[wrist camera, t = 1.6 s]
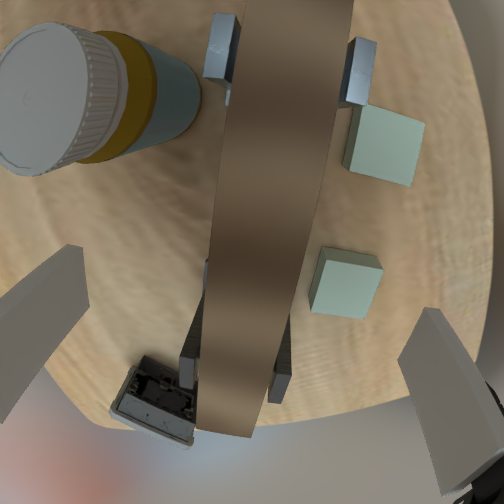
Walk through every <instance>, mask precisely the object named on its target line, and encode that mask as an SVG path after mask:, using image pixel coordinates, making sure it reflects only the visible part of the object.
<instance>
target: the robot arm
mask: <svg viewBox="0 0 504 504" xmlns="http://www.w3.org/2000/svg"><path fill="white" fill-rule="evenodd" d="M89 307H90V305H89V299H88V291H87V284H86V276H85V267H84V256H83V247H78V246H74V245H69V244H67V245H66V246H64V247H63V248H62V249H60V250H59V251H58V252H56V253H55V254H54V255H52V256H51V257H50V258H48V259H47V260H46V261H45V262H43V263H42V264H41V265H40V266H38V267H37V268H36V269H35V270H33V271H32V272H31V273H30V274H28V275H27V276H26V277H25V278H23V279H22V280H21V281H20V282H19V283H17V284H16V285H15V286H14V287H13V288H12V289H10V290H9V291H8V292H7V293H6V294H5V295H4V296H2V297H1V298H0V423H1V424H3V422H4V420H5V419H6V417H7V416H8V414H9V413H10V411H11V410H12V408H13V407H14V406H15V404H16V403H17V401H18V400H19V398H20V397H21V395H22V394H23V393H24V391H25V390H26V388H27V387H28V386H29V384H30V383H31V381H32V380H33V379H34V377H35V376H36V374H37V373H38V372H39V370H40V369H41V368H42V366H43V365H44V364H45V362H46V361H47V360H48V358H49V357H50V356H51V354H52V353H53V352H54V351H55V349H56V348H57V347H58V345H59V344H60V343H61V342H62V340H63V339H64V338H65V337H66V335H67V334H68V333H69V332H70V330H71V329H72V328H73V327H74V325H75V324H76V323H77V322H78V321H79V319H80V318H81V317H82V316H83V314H84V313H85V312H86V311H87V310H88V308H89ZM398 363H399V366H400V368H401V371H402V373H403V376H404V379H405V381H406V384H407V387H408V389H409V392H410V395H411V398H412V401H413V403H414V406H415V409H416V412H417V415H418V418H419V421H420V424H421V427H422V430H423V433H424V436H425V440H426V443H427V446H428V449H429V452H430V456H431V459H432V463H433V467H434V470H435V474H436V478H437V481H438V485H439V488H440V493H441V497H442V496H446V495H449V494H453V493H457V492H459V491H461V490H462V489H464V488H465V487H466V486H467V485H469V484H470V483H471V484H472V488H473V489H471V490H470V491H469V492H467V493H466V494H464V495H463V496H462V497H460V498H459V499H457V500H456V501H455V502H454V503H453V504H459V503H460V502H462V501H463V500H464V502H463V504H504V408H503V406H502V404H500V400H499V398H498V396H497V395H496V393H495V391H494V390H493V389H492V388H491V387H490V386H489V384H488V383H487V382H486V381H484V379H483V377H482V376H481V374H480V372H479V371H478V369H477V367H476V365H475V364H474V362H473V360H472V359H471V357H470V355H469V354H468V352H467V350H466V349H465V347H464V346H463V344H462V342H461V341H460V339H459V338H458V336H457V335H456V333H455V332H454V330H453V328H452V327H451V325H450V324H449V322H448V321H447V319H446V318H445V316H444V315H443V313H442V312H441V311H440V309H436V308H428V307H424V309H423V312H422V314H421V316H420V318H419V320H418V322H417V324H416V326H415V328H414V330H413V332H412V334H411V336H410V338H409V340H408V341H407V343H406V345H405V347H404V349H403V351H402V353H401V354H400V356H399V358H398Z"/></svg>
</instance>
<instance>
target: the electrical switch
mask: <svg viewBox="0 0 504 504" xmlns="http://www.w3.org/2000/svg"><path fill="white" fill-rule="evenodd" d="M161 368H162V369H161ZM142 370H143V371H142ZM162 372H163V375H162V376H161V374H162ZM160 376H161V377H160ZM159 377H160V378H159ZM165 377H170V378H171V383H170V384H168V383H167V382H165V381H163V380H164V379H165ZM176 379H177V380H176ZM175 380H176V381H175ZM174 381H175V384H174ZM174 385H175V386H174ZM197 396H198V381H196V380H195V383H194V387H193V389H188V388H184V387H180V384H179V373H178V372H176V371H174V370H172V369H170V368H168V367H166V366H164V365H162V364H160V363H158V362H156V361H154V360H152V359H150V358H148V357H146V356H144V357H143V358H142V359H141V361H140V363H139V364H138V367H137V368H136V367H130V369H129V371H128V375H127V377H126V379H125V381H124V383H123V385H122V387H121V389H120V391H119V393H118V395H117V397H116V399H115V401H114V400H113V402H112V404H111V406H110V410H109V413H110V415H111V417H112V418H114V419H116V420H118V421H120V422H122V423H124V424H126V425H128V426H130V427H132V428H134V429H136V430H138V431H141V432H143V433H145V434H147V435H149V436H152V437H154V438H156V439H159V440H161V441H163V442H166V443H168V444H171V445H173V446H176V447H178V448H181V449H184V450H188V449H190V447H191V446H192V445H193V443H194V437H193V431H194V428H195V426H196V415H197Z"/></svg>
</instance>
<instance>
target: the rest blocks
mask: <svg viewBox="0 0 504 504" xmlns="http://www.w3.org/2000/svg"><path fill="white" fill-rule="evenodd" d="M424 129H425V123H423V122H420V121H417V120H415V119H412V118H409V117H406V116H403V115H400V114H397V113H394V112H391V111H388V110H385V109H382V108H379V107H375V106H372V105H369V104H367V106H362V107H354V110H353V116H352V121H351V126H350V131H349V136H348V141H347V145H346V150H345V155H344V159H343V164H342V165H343V166H344V167H345V168H346V169H347V170H349V171H351V172H356V173H360V174H364V175H368V176H372V177H375V178H379V179H383V180H387V181H390V182H394V183H398V184H401V185H405V186H408V187H411V184H412V180H413V176H414V172H415V168H416V164H417V160H418V156H419V152H420V147H421V143H422V138H423V134H424ZM383 272H384V269H383V267H382V266H381V264H380V262H379V261H378V259H377V257H376V256H371V255H366V254H360V253H355V252H350V251H344V250H339V249H334V248H328V247H323V246H322V250H321V253H320V257H319V261H318V264H317V268H316V271H315V275H314V278H313V282H312V285H311V289H310V292H309V296H308V297H309V304H310V311H311V312H314V313H321V314H328V315H335V316H343V317H350V318H358V319H365V317H366V315H367V312H368V310H369V308H370V305H371V303H372V300H373V298H374V295H375V293H376V290H377V288H378V285H379V282H380V280H381V277H382V274H383Z"/></svg>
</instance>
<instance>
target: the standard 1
mask: <svg viewBox="0 0 504 504" xmlns="http://www.w3.org/2000/svg"><path fill="white" fill-rule="evenodd" d="M207 268H208V259H206V261H205V270H204V281H203V292H202V298H201V300H200V303H199V305H198V308H197V311H196V313H195V316H194V319H193V321H192V324H191V327H190V329H189V332H188V335H187V337H186V340H185V343H184V345H183V348H182V351H181V354H180V356H179V384H180V387H184V388H188V389H193V387H194V383H195V380H196V376H197V373H198V369H199V364H200V349H201V336H202V323H203V311H204V300H205V289H206V278H207ZM291 376H292V368H291V336H290V312H289V316H288V319H287V323H286V326H285V330H284V333H283V337H282V340H281V344H280V347H279V351H278V354H277V357H276V361H275V364H274V367H273V371H272V374H271V377H270V380H269V385H268V402H269V403H277V404H281V402H282V400H283V397H284V395H285V392H286V389H287V387H288V384H289V381H290V379H291Z"/></svg>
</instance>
